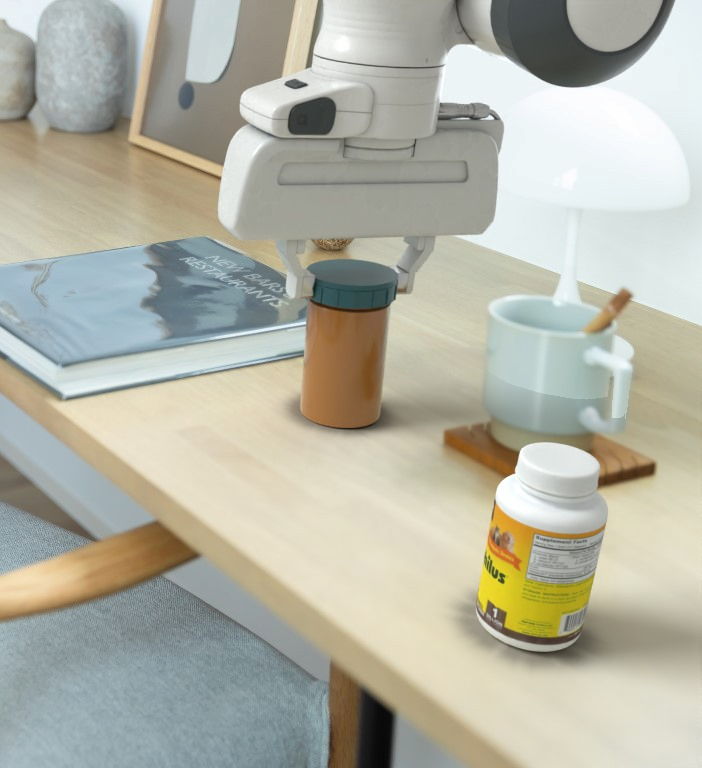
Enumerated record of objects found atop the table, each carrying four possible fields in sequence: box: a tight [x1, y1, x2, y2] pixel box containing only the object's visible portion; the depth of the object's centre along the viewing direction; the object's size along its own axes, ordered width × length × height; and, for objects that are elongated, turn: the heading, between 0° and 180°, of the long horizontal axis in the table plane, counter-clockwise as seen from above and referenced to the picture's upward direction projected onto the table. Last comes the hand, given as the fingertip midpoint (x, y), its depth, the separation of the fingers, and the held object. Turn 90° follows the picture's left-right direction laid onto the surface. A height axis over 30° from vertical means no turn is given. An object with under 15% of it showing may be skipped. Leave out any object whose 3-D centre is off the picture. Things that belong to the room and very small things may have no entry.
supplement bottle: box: [475, 441, 609, 653], centre depth 62 cm, size 6×6×10 cm
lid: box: [306, 258, 398, 309], centre depth 85 cm, size 7×7×2 cm
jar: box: [299, 298, 392, 429], centre depth 87 cm, size 6×6×10 cm
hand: (347, 294), depth 85 cm, fingers closed on lid, 6 cm apart
